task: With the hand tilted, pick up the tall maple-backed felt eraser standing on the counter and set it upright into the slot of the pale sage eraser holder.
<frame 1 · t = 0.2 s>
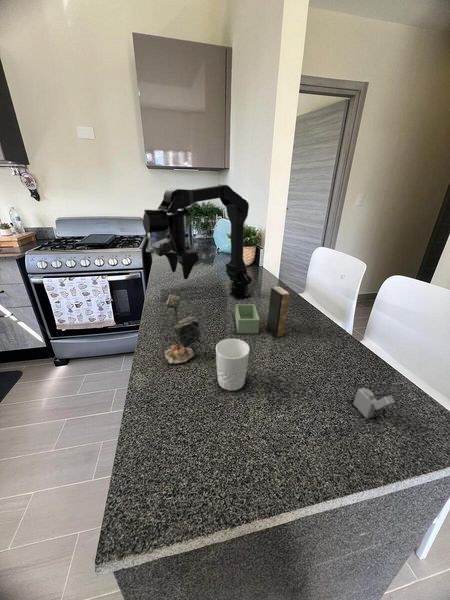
hand: (179, 275, 89), 15 cm above the kitchen counter, tool pointing down, fingers open, 9 cm apart
white cup: (231, 381, 62), on the kitchen counter
grey angled bracket: (367, 416, 54), on the kitchen counter
holder: (246, 324, 88), on the kitchen counter
eraser: (274, 331, 84), on the kitchen counter
plant with pod: (183, 355, 71), on the kitchen counter
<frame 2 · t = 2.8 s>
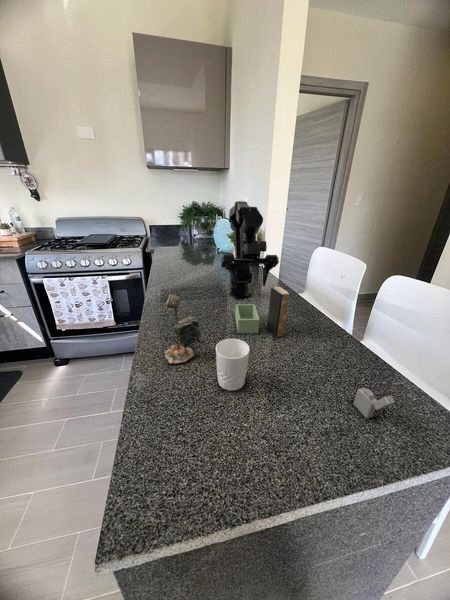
hand: (250, 286, 82), 14 cm above the kitchen counter, tool tilted 35°, fingers open, 9 cm apart
nothing on the kitchen counter moved.
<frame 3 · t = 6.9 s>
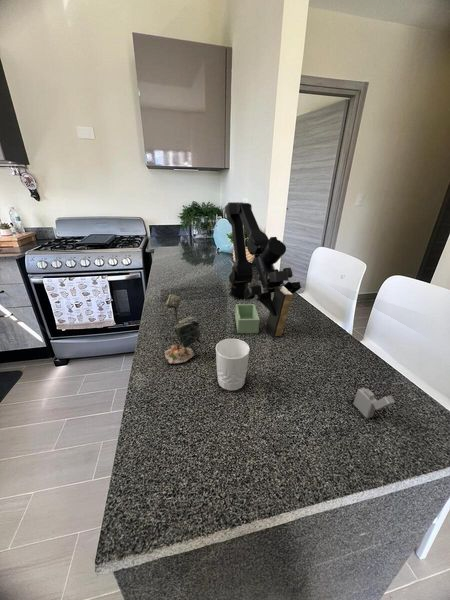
hand: (280, 314, 79), 7 cm above the kitchen counter, tool tilted 45°, fingers closed on eraser, 3 cm apart
eraser: (273, 330, 84), on the kitchen counter, tilted 6°, touching gripper
everything else where it was.
when the fingers open (8 cm above the kitchen counter, at t = 12.4 s): eraser stays where it is, resting on holder.
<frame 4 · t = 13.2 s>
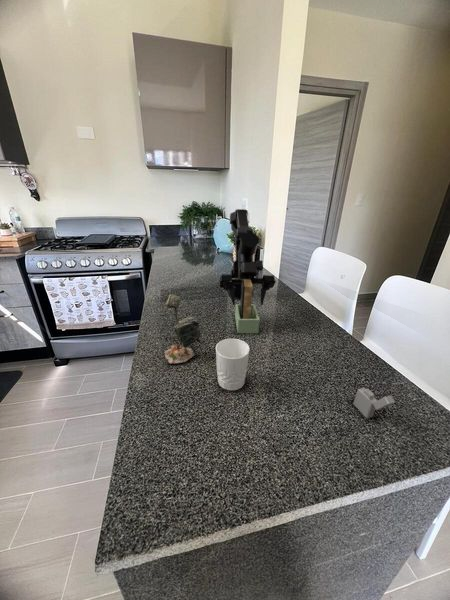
hand: (248, 304, 83), 8 cm above the kitchen counter, tool tilted 45°, fingers open, 9 cm apart
eraser: (244, 322, 87), point 1 cm above the kitchen counter, touching gripper, holder
everything else where it was.
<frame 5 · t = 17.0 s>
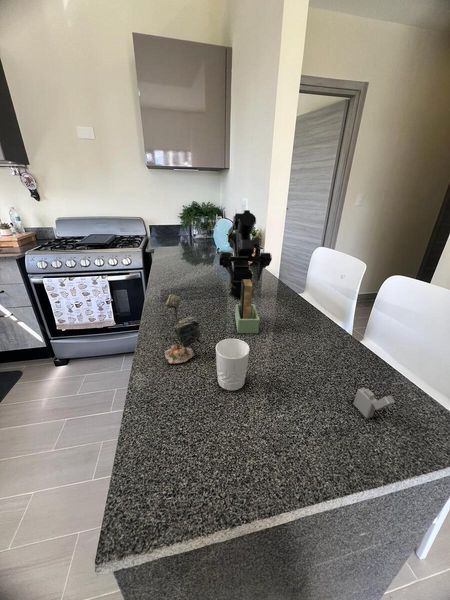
hand: (245, 280, 89), 14 cm above the kitchen counter, tool tilted 45°, fingers open, 9 cm apart
eraser: (244, 322, 87), point 1 cm above the kitchen counter, touching holder
everything else where it was.
at the end: eraser inside the target area in the holder (0.7 cm from its centre), point 0.6 cm above the holder's base; eraser tilted 0°; the gripper is holding nothing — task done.
